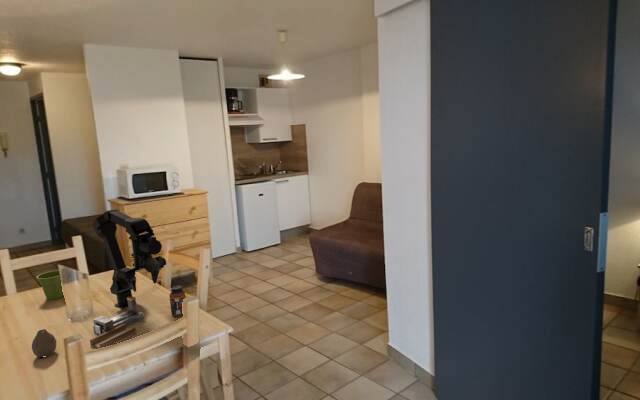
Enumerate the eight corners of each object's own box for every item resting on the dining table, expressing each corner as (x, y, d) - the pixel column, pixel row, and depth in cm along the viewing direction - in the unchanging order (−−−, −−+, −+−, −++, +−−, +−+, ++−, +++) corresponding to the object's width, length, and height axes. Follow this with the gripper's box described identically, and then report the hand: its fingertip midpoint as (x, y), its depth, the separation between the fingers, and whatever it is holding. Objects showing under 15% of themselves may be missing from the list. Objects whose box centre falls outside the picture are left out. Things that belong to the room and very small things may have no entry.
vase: (41, 350, 142) (36, 326, 141) (62, 348, 143) (57, 325, 141) (29, 361, 135) (24, 336, 134) (51, 359, 136) (46, 334, 134)
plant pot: (75, 294, 192) (71, 271, 191) (48, 304, 183) (44, 280, 181) (62, 290, 199) (59, 268, 197) (35, 299, 189) (31, 276, 187)
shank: (96, 334, 152) (94, 325, 152) (119, 323, 160) (117, 315, 159) (100, 336, 150) (99, 327, 150) (123, 325, 158) (122, 317, 157)
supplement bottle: (182, 317, 162) (179, 290, 160) (168, 316, 163) (165, 289, 161) (189, 310, 167) (186, 284, 166) (176, 310, 169) (173, 284, 167)
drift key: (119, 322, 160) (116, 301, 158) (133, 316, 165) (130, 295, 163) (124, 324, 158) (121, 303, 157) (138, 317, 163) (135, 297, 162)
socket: (93, 331, 154) (91, 319, 153) (132, 314, 167) (130, 303, 166) (105, 336, 150) (103, 323, 149) (144, 318, 163) (142, 306, 162)
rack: (90, 345, 143) (89, 339, 143) (124, 329, 154) (123, 323, 154) (102, 350, 140) (101, 344, 139) (136, 333, 150) (135, 327, 150)
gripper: (132, 260, 151) (137, 300, 154) (173, 246, 167) (177, 283, 170) (114, 256, 157) (119, 294, 160) (155, 243, 173) (159, 278, 175)
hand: (145, 287), depth 166 cm, fingers open, 9 cm apart
